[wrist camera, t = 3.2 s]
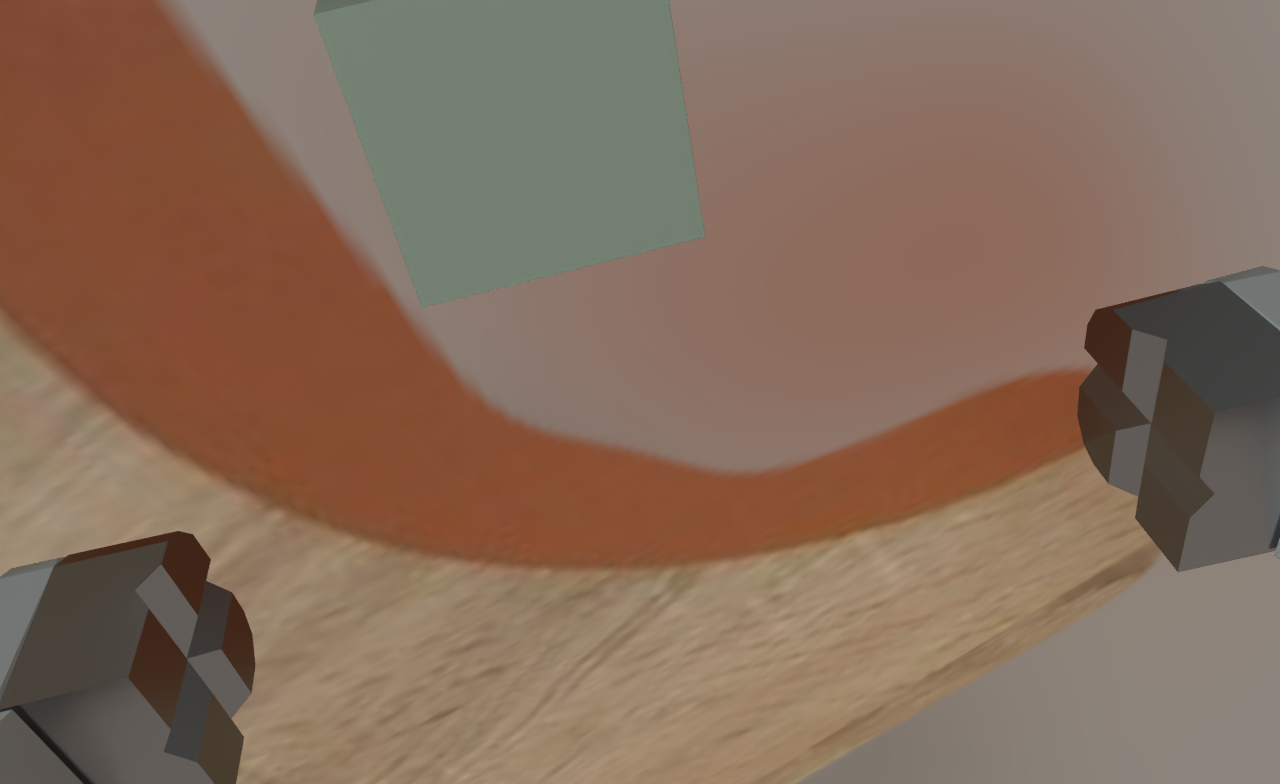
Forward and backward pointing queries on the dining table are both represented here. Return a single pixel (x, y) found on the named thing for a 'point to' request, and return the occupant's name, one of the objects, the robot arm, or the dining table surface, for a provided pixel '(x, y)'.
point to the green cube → (517, 133)
